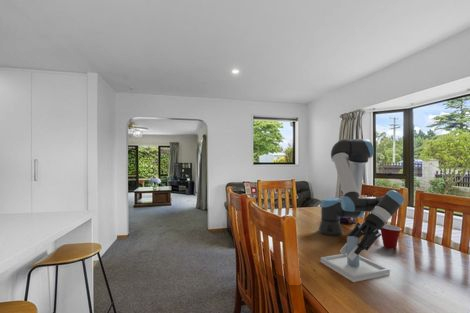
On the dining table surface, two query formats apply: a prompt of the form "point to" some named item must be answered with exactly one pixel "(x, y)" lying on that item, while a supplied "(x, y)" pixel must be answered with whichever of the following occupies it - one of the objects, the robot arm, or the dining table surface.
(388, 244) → the plastic cup
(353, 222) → the decorative bottle
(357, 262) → the dowel pin
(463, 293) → the dining table surface
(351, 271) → the tray
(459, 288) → the dining table surface
